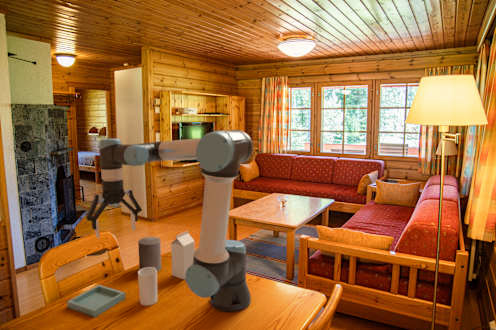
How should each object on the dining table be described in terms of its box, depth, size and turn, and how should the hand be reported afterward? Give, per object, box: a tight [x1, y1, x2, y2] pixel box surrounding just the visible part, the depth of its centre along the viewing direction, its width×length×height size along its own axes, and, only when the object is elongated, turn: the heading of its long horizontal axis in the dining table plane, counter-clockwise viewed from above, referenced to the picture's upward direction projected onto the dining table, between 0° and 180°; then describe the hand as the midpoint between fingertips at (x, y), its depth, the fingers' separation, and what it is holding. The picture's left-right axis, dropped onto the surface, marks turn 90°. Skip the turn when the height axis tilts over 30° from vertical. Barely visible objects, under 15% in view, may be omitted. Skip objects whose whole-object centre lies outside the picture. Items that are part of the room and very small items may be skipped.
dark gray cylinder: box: [137, 236, 162, 273], centre depth 157 cm, size 10×10×15 cm
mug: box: [137, 267, 158, 307], centre depth 131 cm, size 10×7×12 cm, turn 170°
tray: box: [66, 284, 126, 318], centre depth 129 cm, size 14×14×2 cm
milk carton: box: [170, 230, 196, 281], centre depth 151 cm, size 7×7×19 cm
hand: (116, 233), depth 135 cm, fingers open, 13 cm apart
